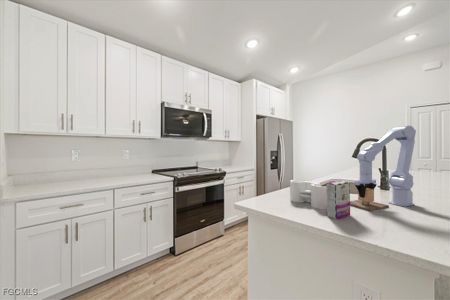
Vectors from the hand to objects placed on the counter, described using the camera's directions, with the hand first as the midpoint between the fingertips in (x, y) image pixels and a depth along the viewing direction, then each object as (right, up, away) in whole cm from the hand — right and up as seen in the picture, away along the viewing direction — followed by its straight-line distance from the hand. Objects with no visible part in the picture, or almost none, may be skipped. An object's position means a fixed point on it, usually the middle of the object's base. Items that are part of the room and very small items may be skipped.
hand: (365, 196), depth 113 cm
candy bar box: (-24, -6, -15) cm, 29 cm away
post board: (0, -5, 0) cm, 5 cm away
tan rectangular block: (0, -2, 0) cm, 2 cm away
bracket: (-29, -6, +6) cm, 30 cm away
